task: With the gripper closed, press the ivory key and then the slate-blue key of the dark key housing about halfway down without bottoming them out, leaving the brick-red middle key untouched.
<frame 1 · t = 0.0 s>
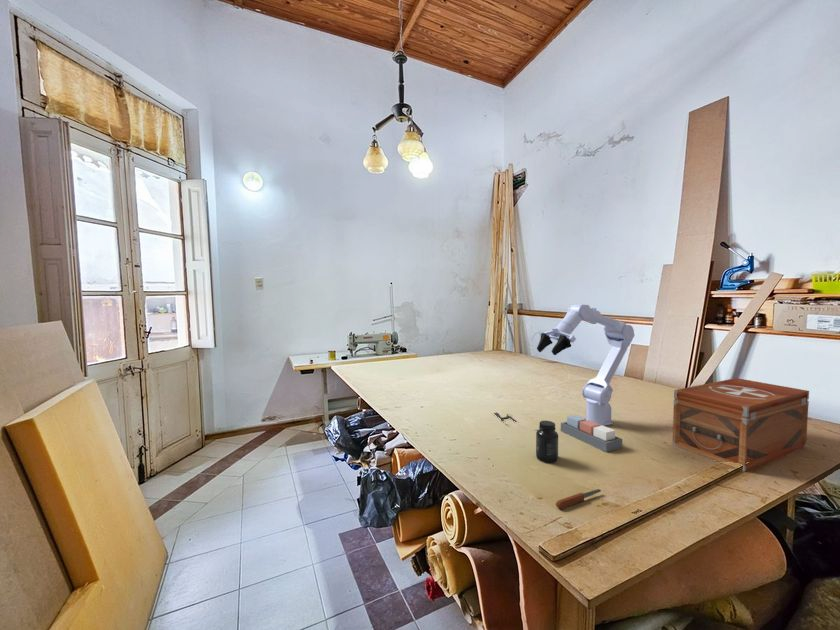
hand: (545, 351, 128), 32 cm above the table, tool tilted 50°, fingers open, 7 cm apart
supplement bottle: (546, 459, 111), on the table
wooden box: (737, 446, 118), on the table
slate key: (576, 421, 130), point 5 cm above the table, slide at 0.0 cm
brick key: (589, 427, 125), point 5 cm above the table, slide at 0.0 cm
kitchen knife: (579, 502, 88), on the table
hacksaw: (516, 424, 142), on the table
ivory key: (604, 433, 119), point 4 cm above the table, slide at 0.0 cm
key housing: (589, 438, 125), on the table
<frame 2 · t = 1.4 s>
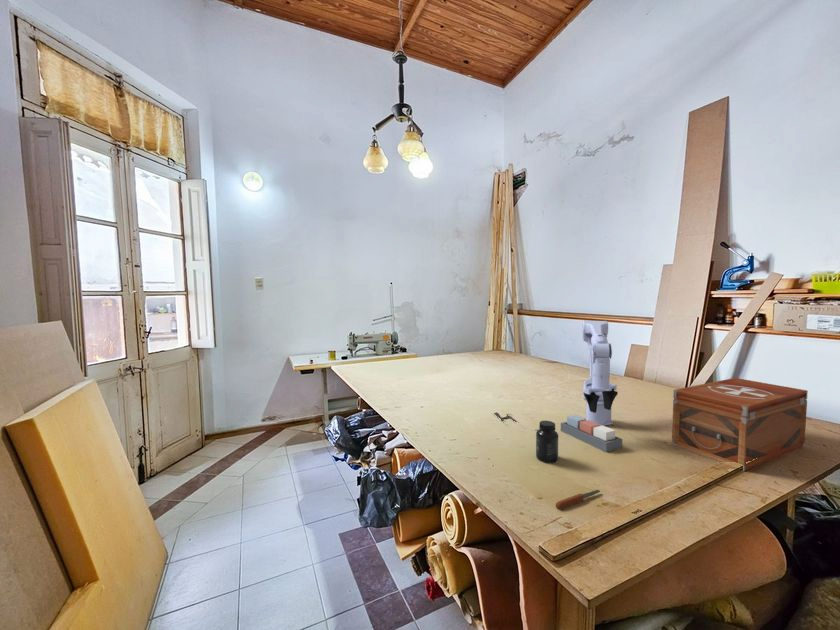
hand: (600, 410, 127), 10 cm above the table, tool pointing down, fingers open, 7 cm apart
nothing on the table moved.
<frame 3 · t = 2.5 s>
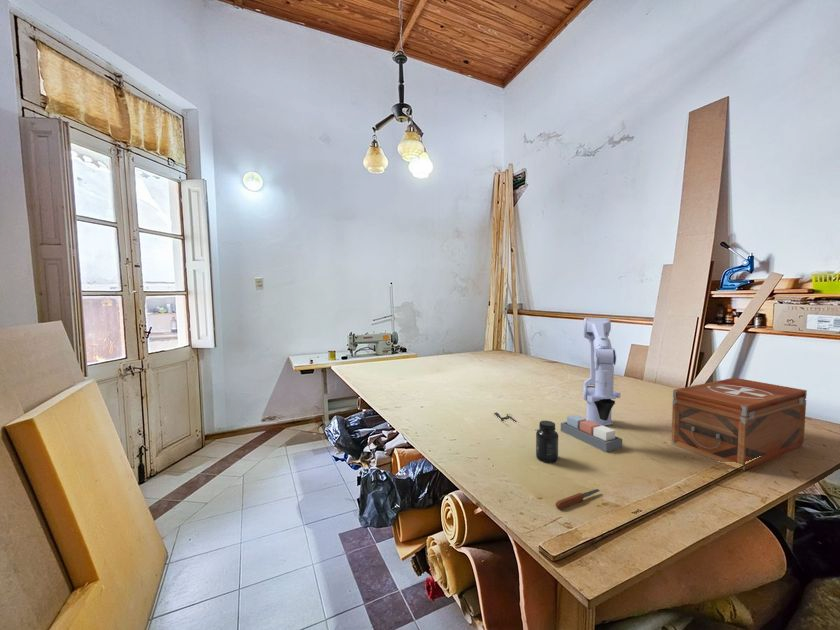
hand: (603, 419, 121), 9 cm above the table, tool pointing down, fingers closed
nothing on the table moved.
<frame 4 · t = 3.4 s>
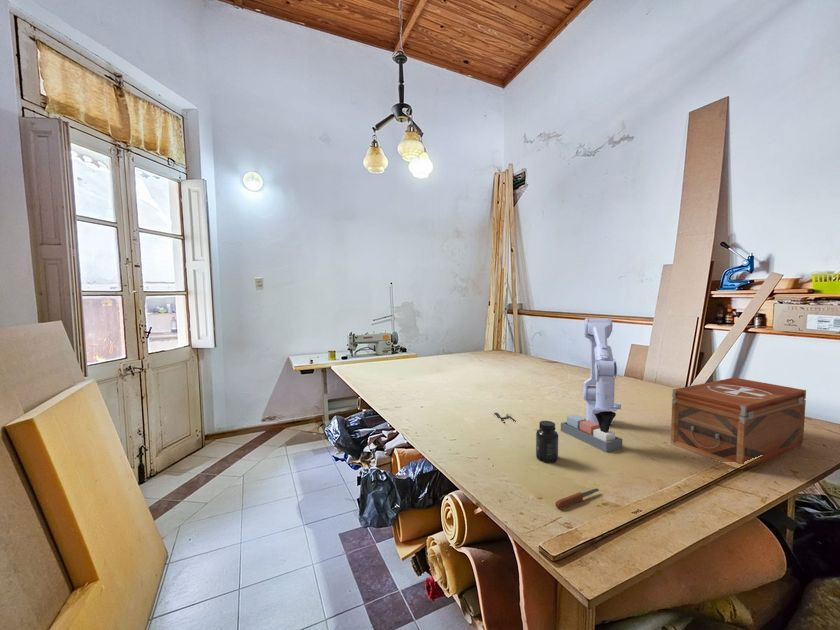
hand: (604, 431, 119), 5 cm above the table, tool pointing down, fingers closed, pressing on ivory key
ivory key: (604, 435, 119), point 4 cm above the table, slide at 0.9 cm, touching gripper
everything else where it was.
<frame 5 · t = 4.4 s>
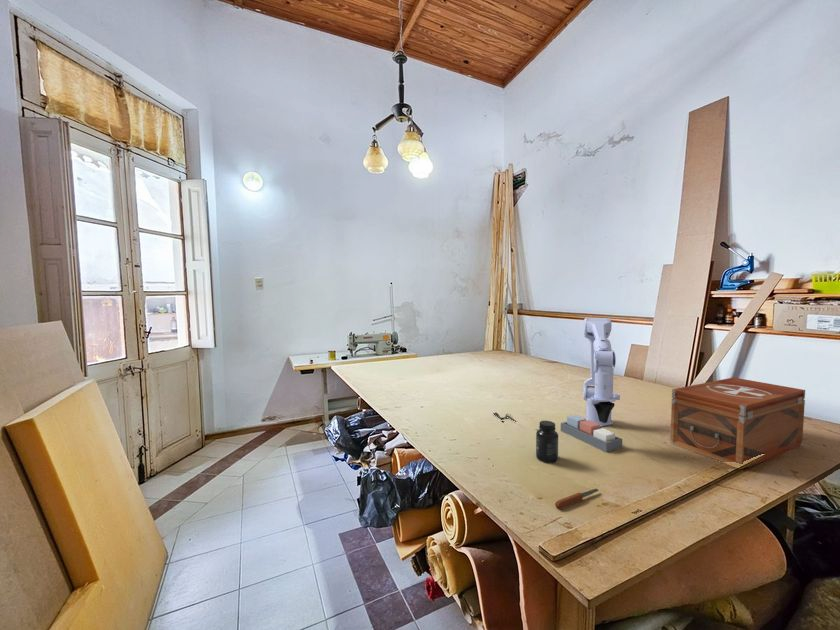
hand: (603, 421, 120), 8 cm above the table, tool pointing down, fingers closed
ivory key: (604, 435, 119), point 3 cm above the table, slide at 1.0 cm
everything else where it was.
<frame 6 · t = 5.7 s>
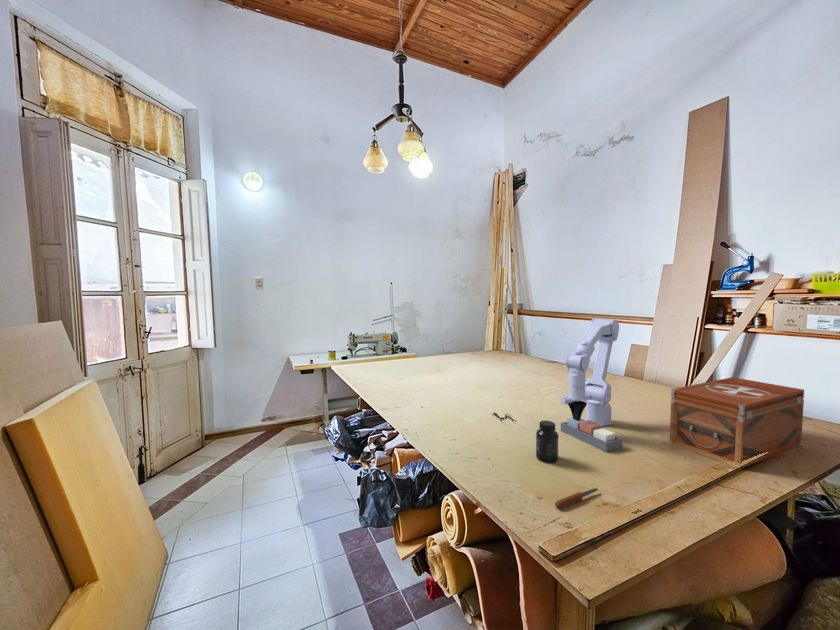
hand: (576, 419, 130), 5 cm above the table, tool pointing down, fingers closed, pressing on slate key
slate key: (576, 423, 130), point 4 cm above the table, slide at 0.8 cm, touching gripper
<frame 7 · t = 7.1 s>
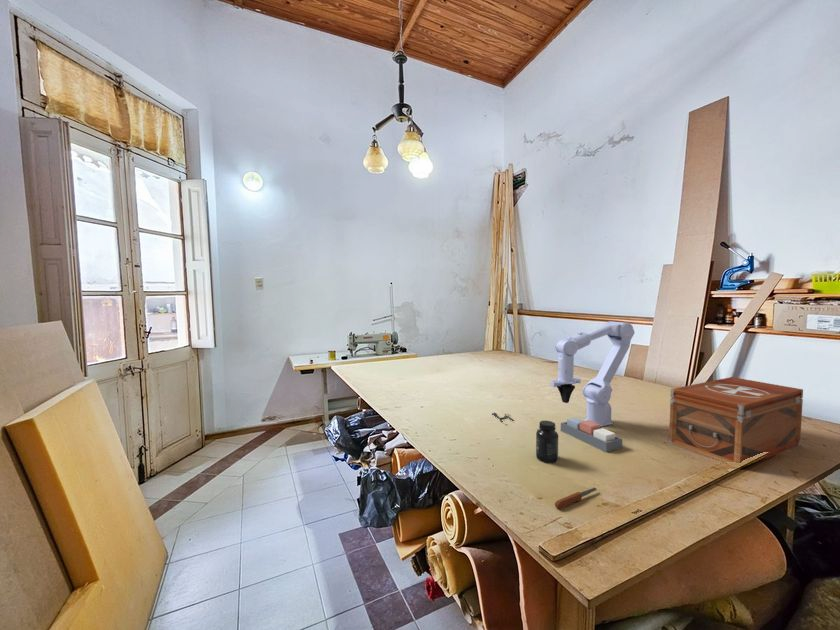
hand: (565, 402, 137), 10 cm above the table, tool pointing down, fingers closed
slate key: (576, 424, 130), point 3 cm above the table, slide at 1.0 cm
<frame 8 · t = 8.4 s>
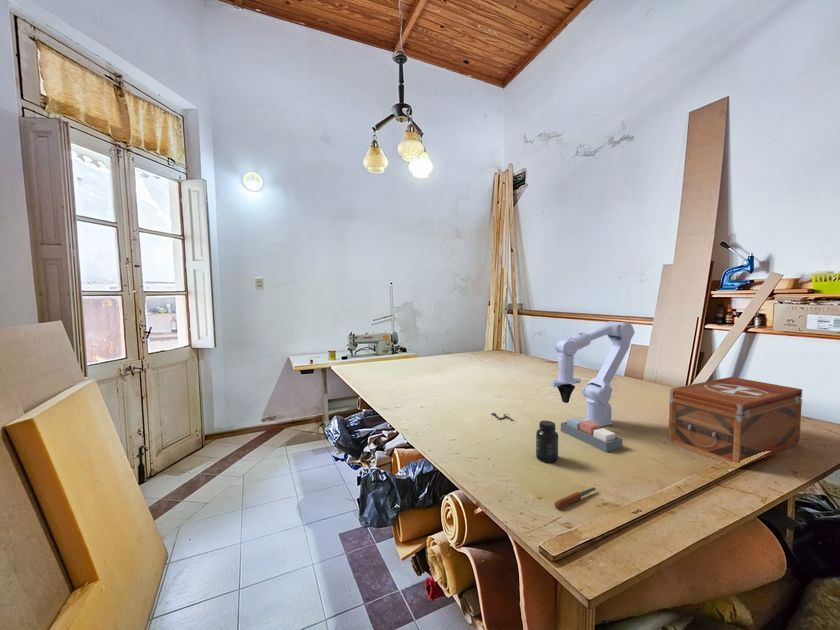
hand: (565, 402, 137), 10 cm above the table, tool pointing down, fingers closed
at the end: ivory key slide at 1.0 cm; slate key slide at 1.0 cm; brick key slide at 0.0 cm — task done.
